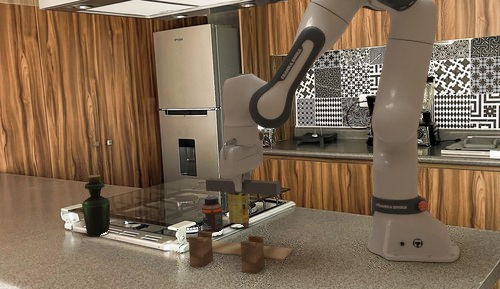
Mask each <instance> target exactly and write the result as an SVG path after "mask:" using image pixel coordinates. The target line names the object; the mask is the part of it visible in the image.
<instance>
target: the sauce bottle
mask: <svg viewBox="0 0 500 289" xmlns="http://www.w3.org/2000/svg"><path fill="white" fill-rule="evenodd" d="M243 176H244V174H242V178H241V179H243ZM227 193H228V194H227V201H228V204H227V205H228V221H229V224H230V223H235V224H241V225H243V226H244V227H245V228H249V225H250V224H249V223H250V211H249V210H250V206H249V204H250V202H249V194H246V193H230V192H227Z"/></svg>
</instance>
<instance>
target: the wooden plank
mask: <svg viewBox="0 0 500 289" xmlns="http://www.w3.org/2000/svg"><path fill="white" fill-rule="evenodd" d="M212 249H213V254H222V255H231V256H240V257H241V242H240V243H238V242H228V241H227V242H226V241H220V240H219V241H217V240H212ZM293 251H294V248H290V247H281V246H268V245H264V259H268V260H277V261H278V260H279V261H284V260H285V259H286V258H287V257H288V256H289V255H290V254H292V252H293Z"/></svg>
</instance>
